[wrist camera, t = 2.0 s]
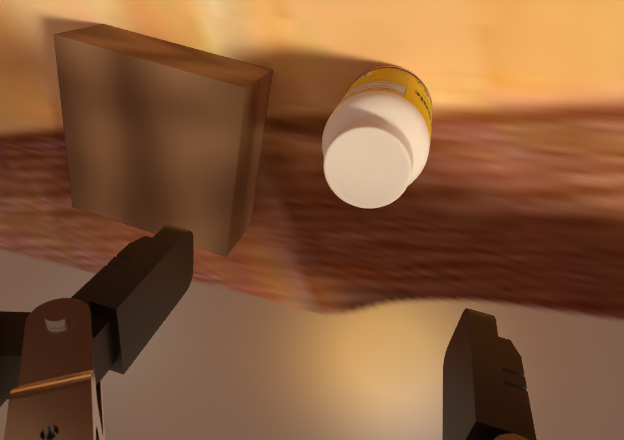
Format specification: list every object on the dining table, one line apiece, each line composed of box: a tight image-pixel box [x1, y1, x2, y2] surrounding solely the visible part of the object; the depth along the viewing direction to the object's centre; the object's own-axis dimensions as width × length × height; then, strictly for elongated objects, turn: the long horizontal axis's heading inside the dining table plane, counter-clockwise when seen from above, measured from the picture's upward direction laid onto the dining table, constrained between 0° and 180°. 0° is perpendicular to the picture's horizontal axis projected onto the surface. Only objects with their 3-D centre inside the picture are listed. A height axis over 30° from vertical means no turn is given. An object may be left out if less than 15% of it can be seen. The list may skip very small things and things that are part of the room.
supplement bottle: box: [322, 66, 432, 208], centre depth 25 cm, size 5×5×10 cm
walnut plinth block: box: [54, 24, 273, 257], centre depth 31 cm, size 12×12×5 cm
